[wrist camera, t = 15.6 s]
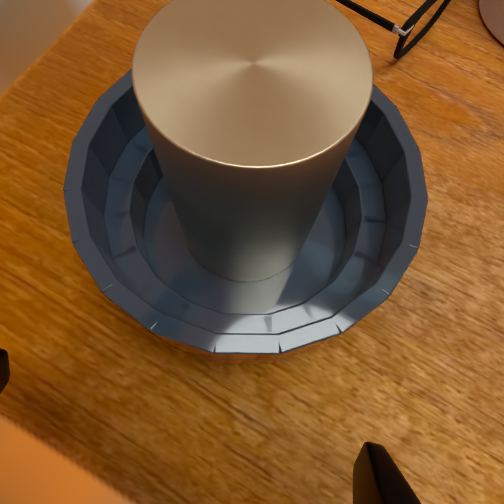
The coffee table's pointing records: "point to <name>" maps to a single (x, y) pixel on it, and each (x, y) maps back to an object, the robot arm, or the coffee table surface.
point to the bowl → (228, 291)
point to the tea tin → (250, 121)
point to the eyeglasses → (406, 27)
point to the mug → (493, 17)
